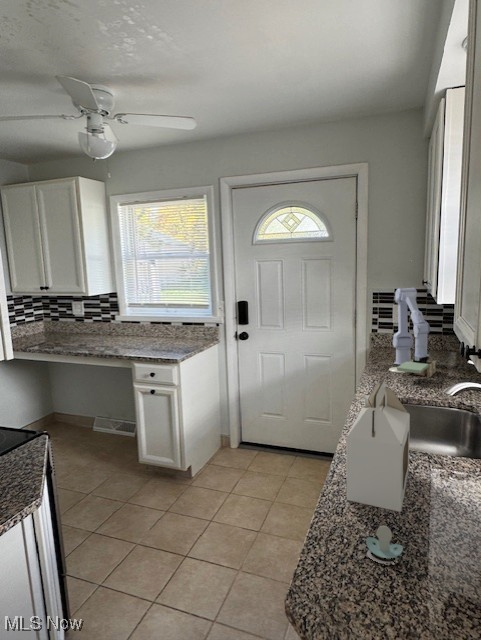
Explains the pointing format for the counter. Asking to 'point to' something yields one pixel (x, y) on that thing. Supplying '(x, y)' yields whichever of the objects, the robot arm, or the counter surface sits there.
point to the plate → (394, 369)
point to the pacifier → (383, 546)
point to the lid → (412, 367)
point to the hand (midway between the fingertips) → (420, 371)
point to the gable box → (379, 451)
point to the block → (422, 373)
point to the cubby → (430, 369)
